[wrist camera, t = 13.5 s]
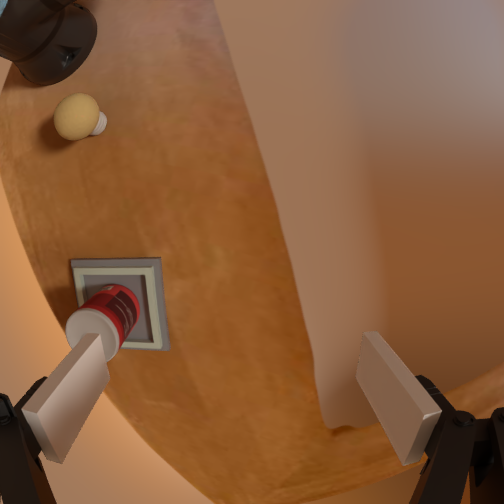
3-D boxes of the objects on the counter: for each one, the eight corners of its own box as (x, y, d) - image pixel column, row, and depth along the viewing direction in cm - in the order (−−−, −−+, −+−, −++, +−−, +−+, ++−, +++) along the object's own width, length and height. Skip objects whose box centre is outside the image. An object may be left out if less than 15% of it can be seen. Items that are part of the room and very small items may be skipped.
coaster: (73, 258, 45) (67, 262, 43) (160, 257, 46) (157, 260, 44) (88, 343, 49) (83, 349, 47) (170, 347, 49) (167, 354, 47)
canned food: (89, 312, 46) (58, 343, 36) (107, 272, 45) (75, 297, 34) (129, 337, 47) (105, 374, 37) (149, 299, 46) (126, 331, 35)
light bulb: (122, 131, 42) (93, 120, 32) (87, 152, 42) (53, 147, 32) (108, 96, 40) (79, 79, 30) (74, 117, 41) (40, 106, 31)
